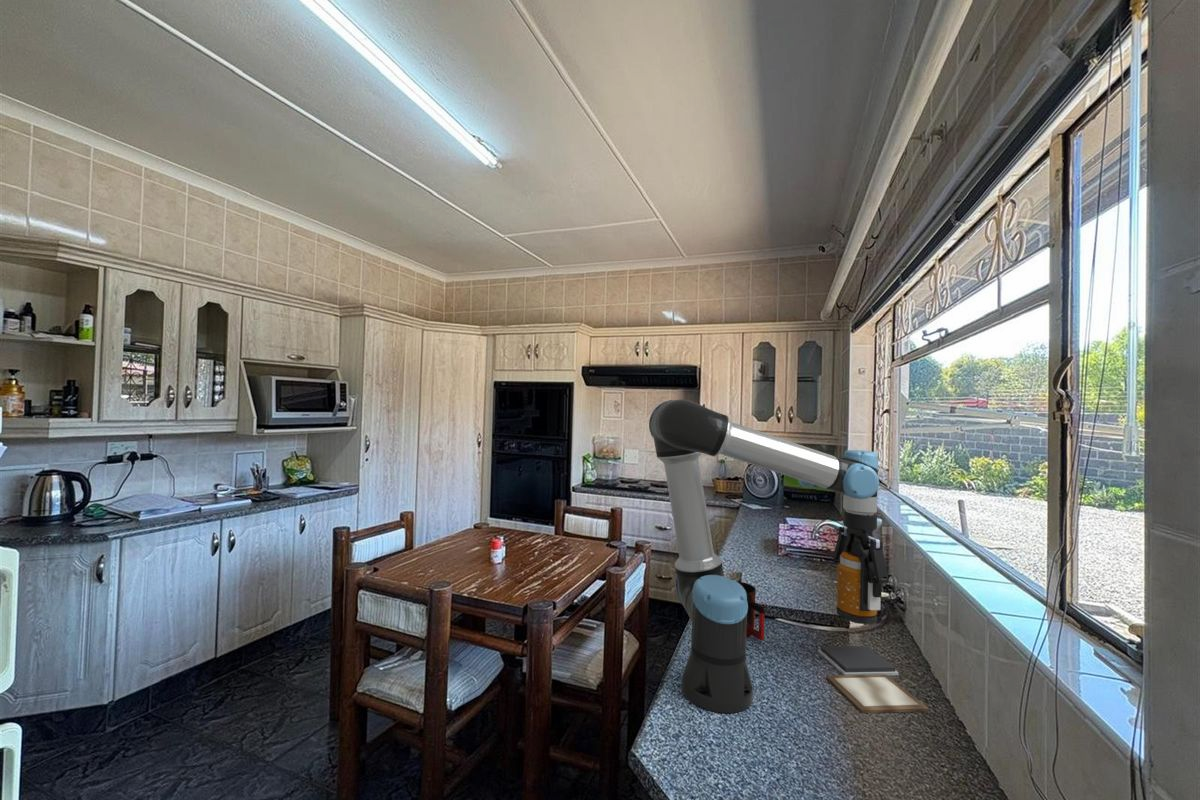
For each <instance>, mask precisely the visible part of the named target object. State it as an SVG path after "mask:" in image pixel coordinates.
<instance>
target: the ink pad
mask: <svg viewBox="0 0 1200 800" xmlns="http://www.w3.org/2000/svg"><path fill="white" fill-rule="evenodd" d="M817 653H819V655H820V656H822V657H823V658H824V659H825V660H827V662H829V663H830V664H831V665H832V666H833V667H834V668H835V669H836V670H837V671H839V672H840V673H841V674H842V675H887V676H899V675H900V674H899V672H898V670H897V669H896V666H894V665H892V664H891V663H890V662H889V661H887V660H886V659H885V658H884V657H882V656H881V655H879V654H878V653H877V652H876V651H874V650H873V649H872V648H870V647H869V646H867V645H844V646H843V645H833V646H831V645H830V646H828V645H827V646H823V645H822V646H820V649H817Z"/></svg>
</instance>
